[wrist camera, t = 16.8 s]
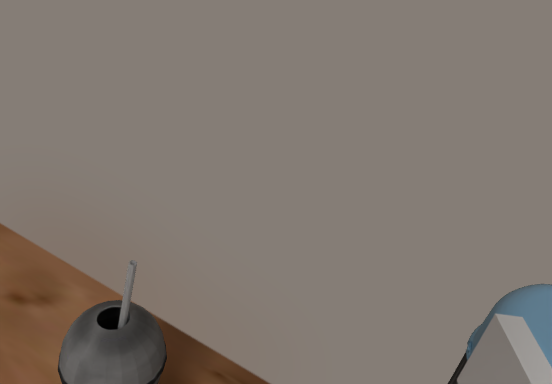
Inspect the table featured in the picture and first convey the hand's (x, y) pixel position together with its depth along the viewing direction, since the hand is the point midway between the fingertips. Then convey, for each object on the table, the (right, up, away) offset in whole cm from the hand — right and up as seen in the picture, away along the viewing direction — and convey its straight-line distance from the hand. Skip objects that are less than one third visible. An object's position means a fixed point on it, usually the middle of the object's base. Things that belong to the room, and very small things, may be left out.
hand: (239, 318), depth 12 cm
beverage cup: (-12, -18, +28) cm, 35 cm away
